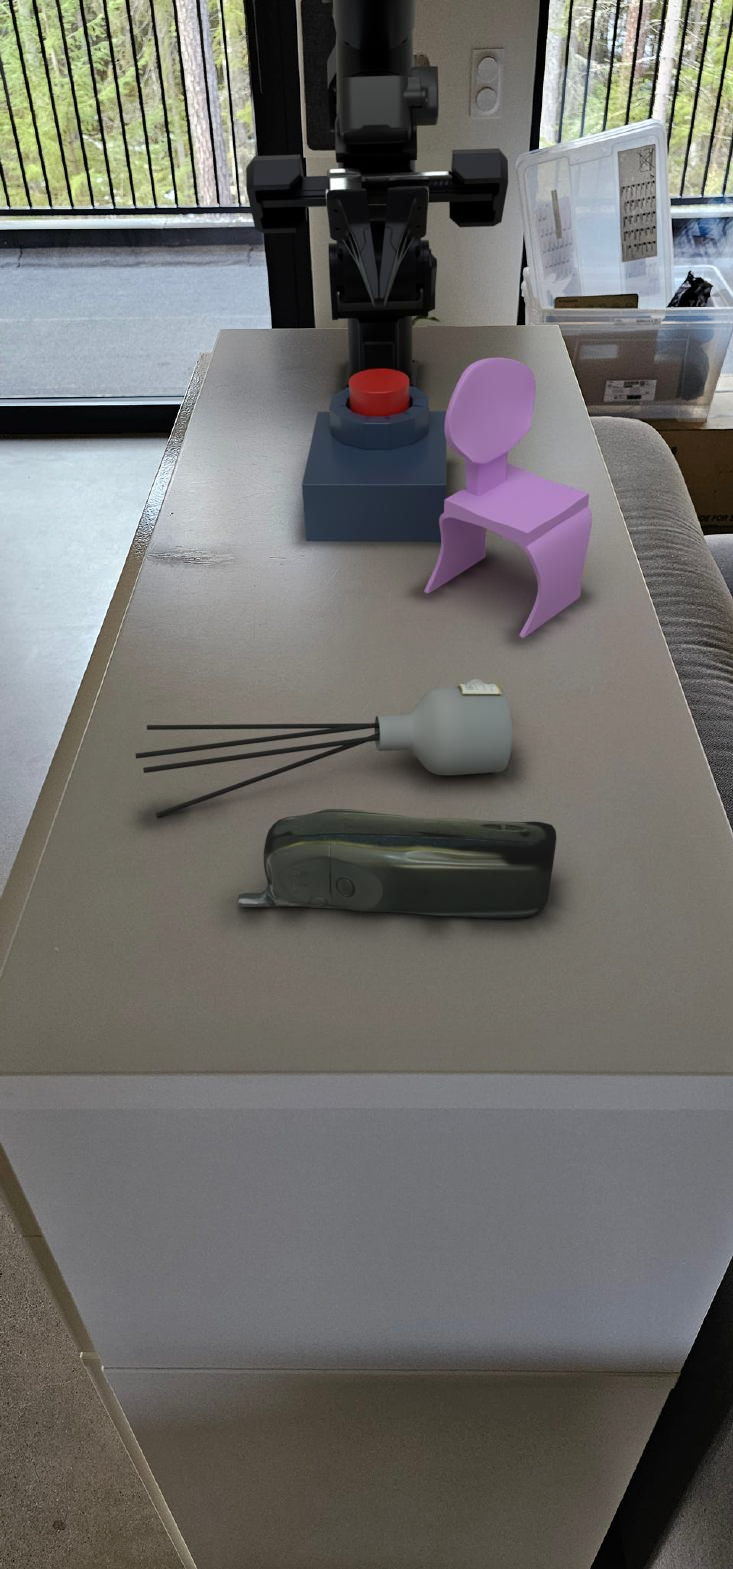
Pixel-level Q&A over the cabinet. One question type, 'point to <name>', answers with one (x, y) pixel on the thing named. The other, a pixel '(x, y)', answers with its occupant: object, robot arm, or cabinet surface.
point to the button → (379, 392)
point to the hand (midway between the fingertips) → (379, 304)
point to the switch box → (376, 474)
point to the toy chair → (508, 490)
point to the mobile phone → (407, 864)
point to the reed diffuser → (389, 736)
